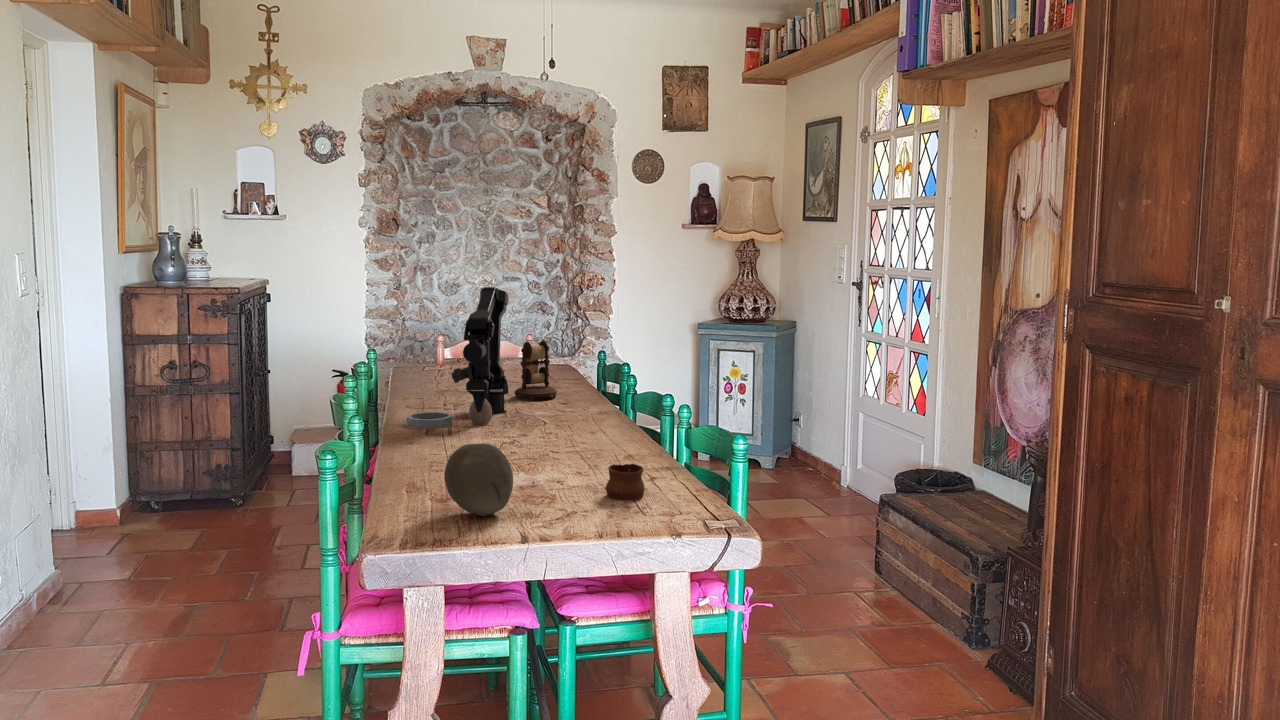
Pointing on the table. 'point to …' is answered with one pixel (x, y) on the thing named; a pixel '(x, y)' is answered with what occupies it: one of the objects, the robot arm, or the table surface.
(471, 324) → the robot arm
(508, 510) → the table surface
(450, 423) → the ring dish
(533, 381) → the spool holder stand
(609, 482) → the ceramic pot
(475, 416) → the vase
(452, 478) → the dark brown round lump
